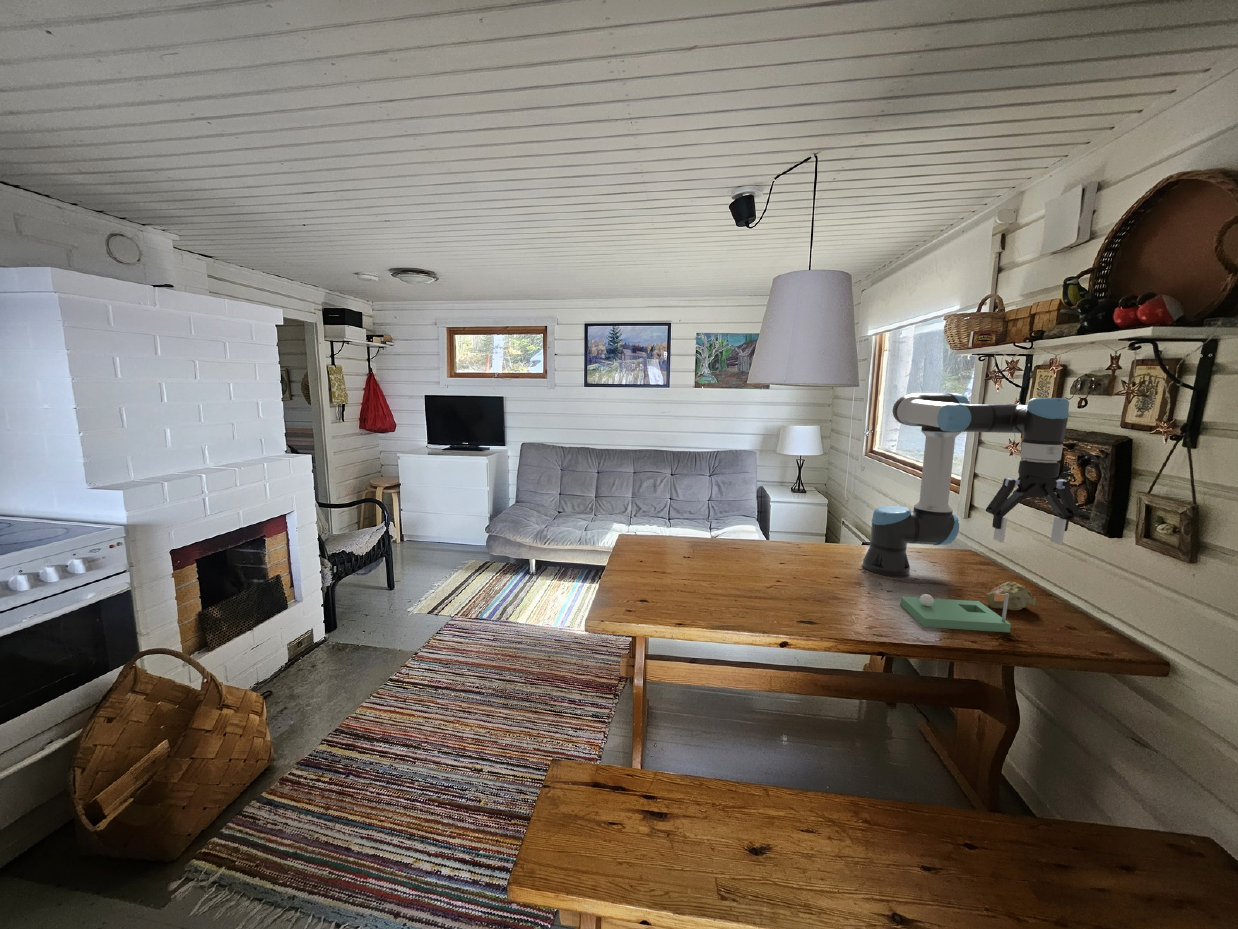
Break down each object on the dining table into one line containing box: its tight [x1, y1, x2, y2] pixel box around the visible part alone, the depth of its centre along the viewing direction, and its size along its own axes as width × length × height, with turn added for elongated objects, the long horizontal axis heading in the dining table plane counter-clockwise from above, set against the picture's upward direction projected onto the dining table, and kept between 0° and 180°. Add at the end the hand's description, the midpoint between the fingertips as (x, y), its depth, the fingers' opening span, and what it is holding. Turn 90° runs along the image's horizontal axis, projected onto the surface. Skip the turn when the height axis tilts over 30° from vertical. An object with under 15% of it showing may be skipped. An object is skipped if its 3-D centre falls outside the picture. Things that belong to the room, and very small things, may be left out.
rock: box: [985, 581, 1038, 611], centre depth 143 cm, size 12×9×10 cm
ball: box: [919, 593, 935, 606], centre depth 137 cm, size 4×4×4 cm
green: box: [900, 593, 1012, 633], centre depth 134 cm, size 14×22×10 cm, turn 83°
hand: (1027, 542), depth 119 cm, fingers open, 13 cm apart
